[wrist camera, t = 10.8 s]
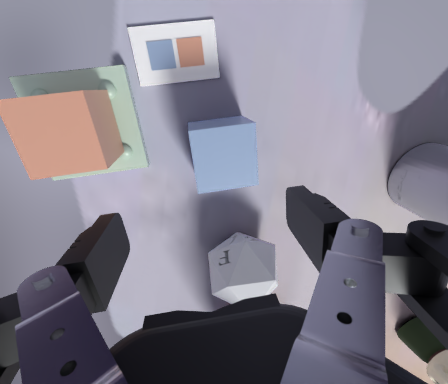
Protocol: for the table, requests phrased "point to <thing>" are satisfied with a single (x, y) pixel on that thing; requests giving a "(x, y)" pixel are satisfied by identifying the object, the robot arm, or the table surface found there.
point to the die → (242, 268)
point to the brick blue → (224, 153)
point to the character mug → (426, 349)
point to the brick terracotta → (63, 132)
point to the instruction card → (175, 52)
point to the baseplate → (120, 100)
